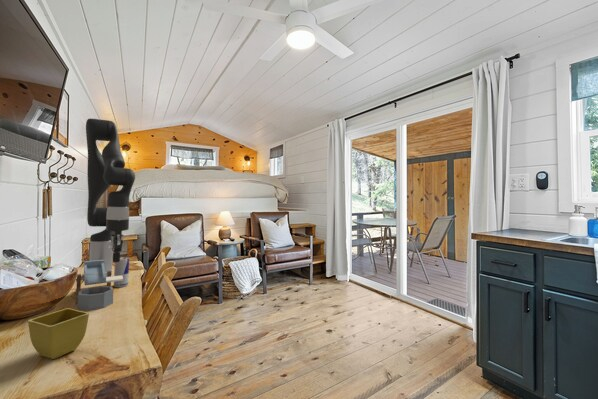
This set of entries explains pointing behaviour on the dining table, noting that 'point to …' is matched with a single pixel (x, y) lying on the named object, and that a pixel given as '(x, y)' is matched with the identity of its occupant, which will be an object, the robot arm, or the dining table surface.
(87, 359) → the dining table surface
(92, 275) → the ramp lever
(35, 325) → the flower pot
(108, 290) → the gray octagonal bowl
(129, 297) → the dining table surface
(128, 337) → the dining table surface
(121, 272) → the energy drink
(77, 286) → the lever stand
